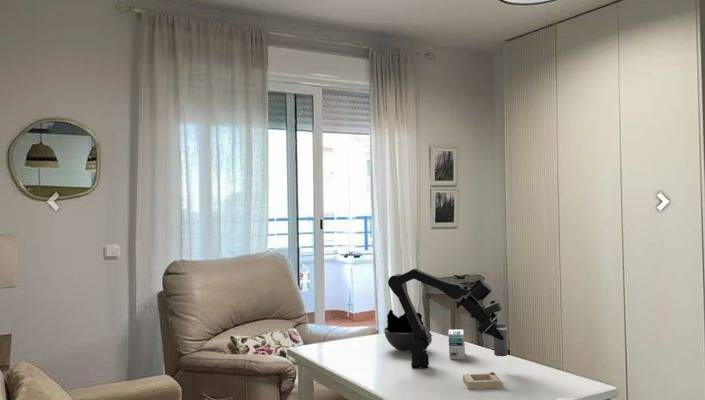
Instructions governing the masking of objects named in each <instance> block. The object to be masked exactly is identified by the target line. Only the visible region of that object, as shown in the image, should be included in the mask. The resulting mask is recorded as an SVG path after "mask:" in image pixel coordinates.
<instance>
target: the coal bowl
mask: <svg viewBox="0 0 705 400" xmlns="http://www.w3.org/2000/svg"><path fill="white" fill-rule="evenodd" d="M416 313H417V315H418V317H419V319H420V322H421V324H422V325H423V326H424V322H423V320H422V318H423V316H422V314H421V312H417V311H416ZM386 322H387V325H386V326H387V327H385V328H384V330H383V332H384V335H385V339H386V340H387V342H388V343H389V344H390V346H392V347H393V348H394V349H396V350H398V351H401V352H410V347H411V346H412V345H413V344H414V343H415V342H414V339H413V331H412V328H411V325H410V323H409V321H408V319H407V316H406V314H405V312H404V313H403V314H401V315H400V316H398V315H396V314H394V311H393V310H392V309H390V310H388V313H387V321H386ZM424 327H425V328H426V327H427V326H424Z"/></svg>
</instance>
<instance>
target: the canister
mask: <svg viewBox="0 0 705 400" xmlns="http://www.w3.org/2000/svg"><path fill="white" fill-rule="evenodd" d="M495 324H496V328H497V329H498V331H499V332H500V333H501V335H502V336H503V337H504V339H503V340H500V339H498V338H495V337H493V355H494V356H496V357H507V356H508V333H507V332H508V331H507V330H508V329H507V328H508V327H507V325H508V324H507V323H505V322H498V323H495Z"/></svg>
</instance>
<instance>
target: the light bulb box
mask: <svg viewBox="0 0 705 400" xmlns="http://www.w3.org/2000/svg"><path fill="white" fill-rule="evenodd" d="M447 337H448V353H449V355H448V356H449V358H448V359H449V360H465V359H466V358H465V357H466V348H465V330H464V329H451V328H450V329H448V336H447Z"/></svg>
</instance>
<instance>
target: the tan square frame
mask: <svg viewBox="0 0 705 400" xmlns="http://www.w3.org/2000/svg"><path fill="white" fill-rule="evenodd" d="M462 382H463V383H464V385H465V386H466V388H467V389H468V390H481V389H482V390H484V389H485V390H486V389H502V388H503V385H502V380H501V379H500V377H499V376H498V375H497V374H496V373H495V372H494V371H490V372H482V373H462Z"/></svg>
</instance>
